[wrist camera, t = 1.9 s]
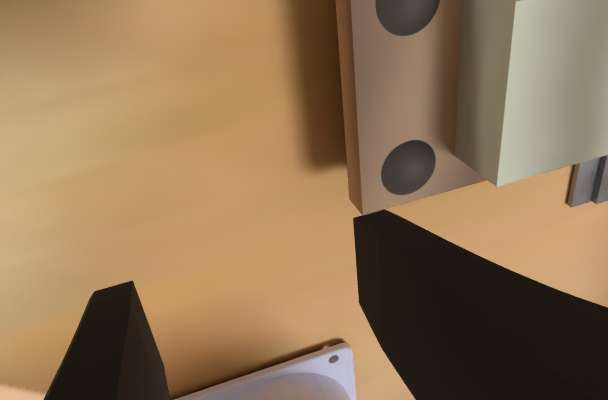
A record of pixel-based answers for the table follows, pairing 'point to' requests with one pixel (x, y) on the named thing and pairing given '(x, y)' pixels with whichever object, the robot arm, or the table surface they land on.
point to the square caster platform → (468, 93)
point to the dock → (589, 182)
